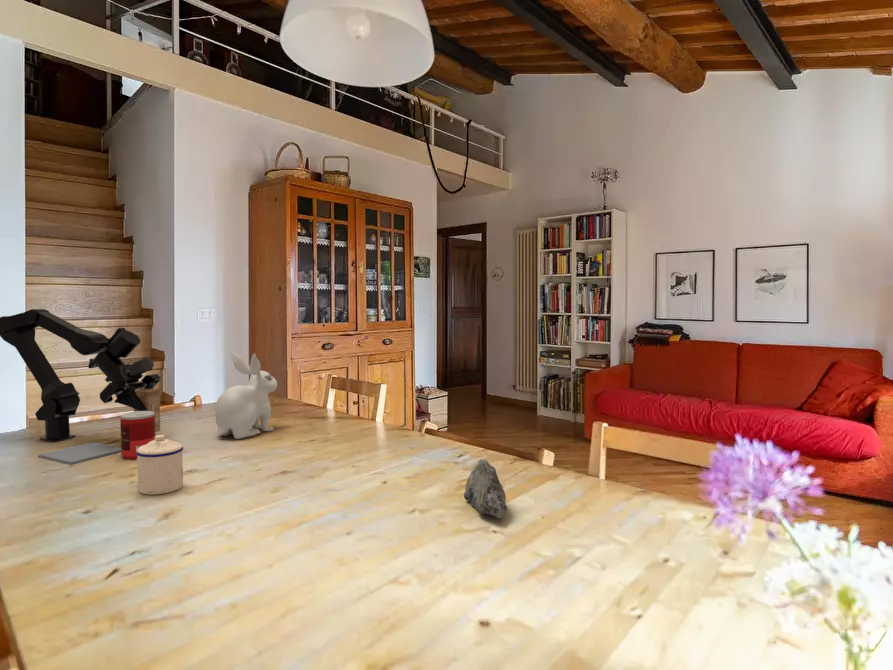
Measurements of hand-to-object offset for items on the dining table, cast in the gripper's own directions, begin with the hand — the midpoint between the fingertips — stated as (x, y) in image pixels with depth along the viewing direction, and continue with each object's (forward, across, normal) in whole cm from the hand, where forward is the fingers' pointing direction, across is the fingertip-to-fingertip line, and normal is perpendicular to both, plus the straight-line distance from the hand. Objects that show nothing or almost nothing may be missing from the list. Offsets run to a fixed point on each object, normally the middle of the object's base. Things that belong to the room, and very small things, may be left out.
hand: (151, 409), depth 158 cm
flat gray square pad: (-1, -13, +14) cm, 19 cm away
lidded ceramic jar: (+24, -33, -11) cm, 42 cm away
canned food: (+10, -11, +4) cm, 16 cm away
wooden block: (+4, 0, +6) cm, 7 cm away
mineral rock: (+75, -34, -61) cm, 103 cm away
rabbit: (+22, +16, -8) cm, 28 cm away
